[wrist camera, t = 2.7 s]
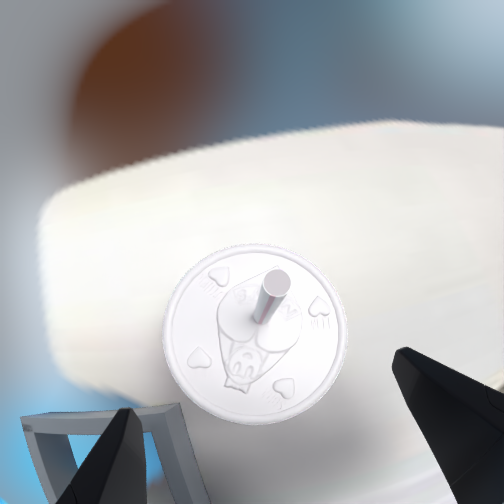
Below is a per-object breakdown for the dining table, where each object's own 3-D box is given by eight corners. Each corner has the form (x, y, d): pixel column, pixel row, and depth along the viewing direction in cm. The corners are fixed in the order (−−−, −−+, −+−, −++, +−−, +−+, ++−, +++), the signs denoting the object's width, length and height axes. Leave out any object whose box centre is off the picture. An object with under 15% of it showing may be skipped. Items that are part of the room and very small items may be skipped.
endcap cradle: (223, 534, 13) (219, 563, 10) (95, 532, 12) (74, 552, 8) (179, 402, 17) (164, 412, 13) (51, 412, 16) (20, 416, 12)
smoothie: (310, 315, 19) (431, 219, 6) (280, 406, 17) (367, 495, 4) (218, 285, 20) (180, 138, 7) (185, 375, 18) (65, 396, 5)
